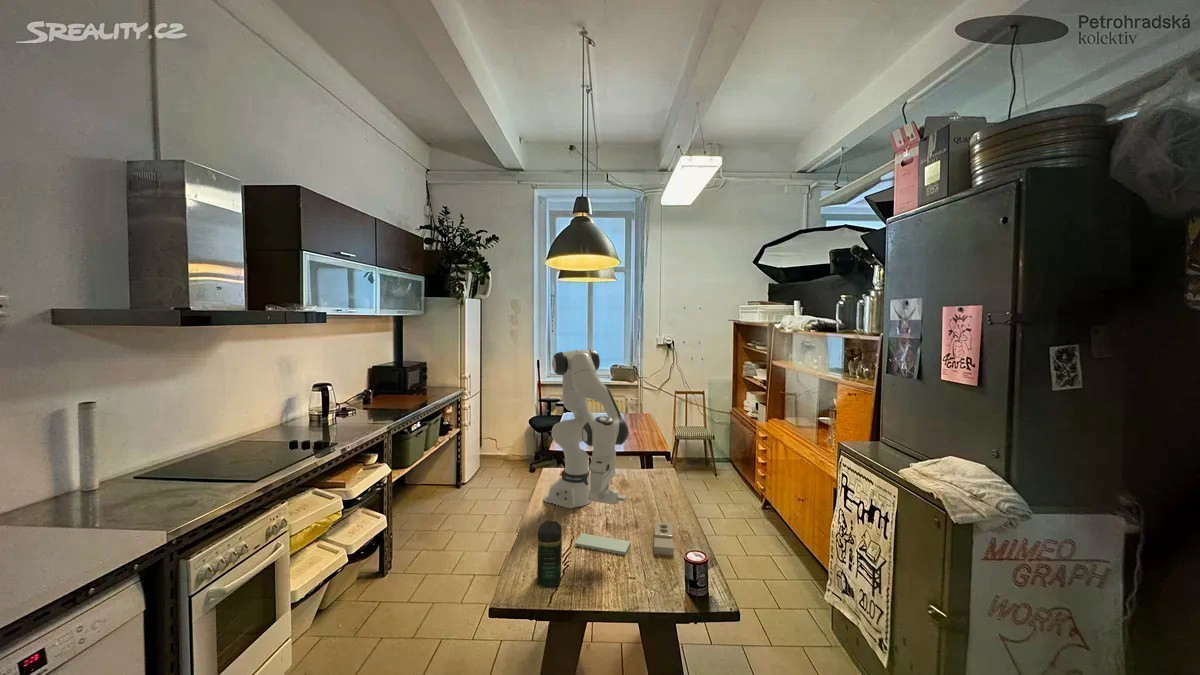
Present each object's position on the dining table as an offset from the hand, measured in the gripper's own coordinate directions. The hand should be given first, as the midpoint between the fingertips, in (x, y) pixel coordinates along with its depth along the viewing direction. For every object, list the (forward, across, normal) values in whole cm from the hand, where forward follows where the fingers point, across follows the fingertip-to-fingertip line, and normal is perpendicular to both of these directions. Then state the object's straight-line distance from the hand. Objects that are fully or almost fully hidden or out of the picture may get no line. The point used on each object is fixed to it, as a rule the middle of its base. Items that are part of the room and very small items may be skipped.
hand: (603, 496), depth 169 cm
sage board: (+19, 0, 0) cm, 19 cm away
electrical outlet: (+20, -10, +22) cm, 31 cm away
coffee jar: (+19, +27, -10) cm, 35 cm away
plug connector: (+2, 0, +1) cm, 2 cm away
